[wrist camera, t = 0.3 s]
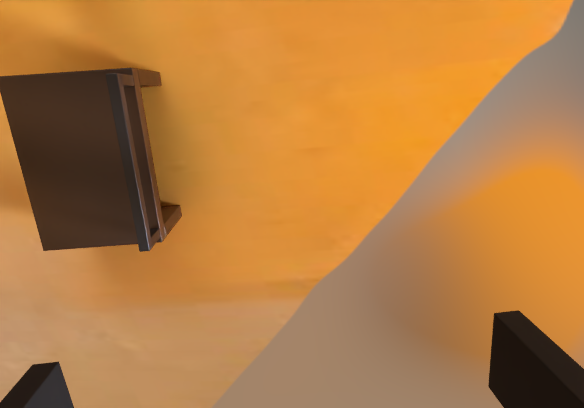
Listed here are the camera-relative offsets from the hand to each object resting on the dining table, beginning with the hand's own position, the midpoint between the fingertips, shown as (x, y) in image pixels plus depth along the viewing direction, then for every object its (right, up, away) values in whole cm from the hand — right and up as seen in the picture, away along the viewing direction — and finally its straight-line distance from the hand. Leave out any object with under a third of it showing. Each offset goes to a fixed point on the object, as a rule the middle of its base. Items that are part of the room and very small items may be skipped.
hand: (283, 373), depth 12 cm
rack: (-16, +10, +25) cm, 32 cm away
